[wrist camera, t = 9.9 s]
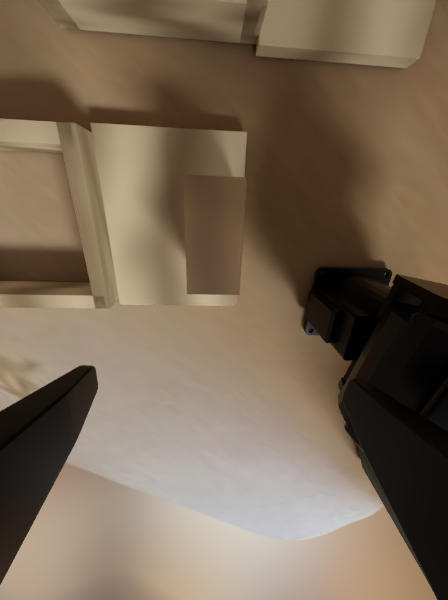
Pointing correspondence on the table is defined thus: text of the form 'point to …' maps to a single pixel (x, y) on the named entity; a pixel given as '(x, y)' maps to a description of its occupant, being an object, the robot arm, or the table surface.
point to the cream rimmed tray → (269, 25)
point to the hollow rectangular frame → (143, 213)
